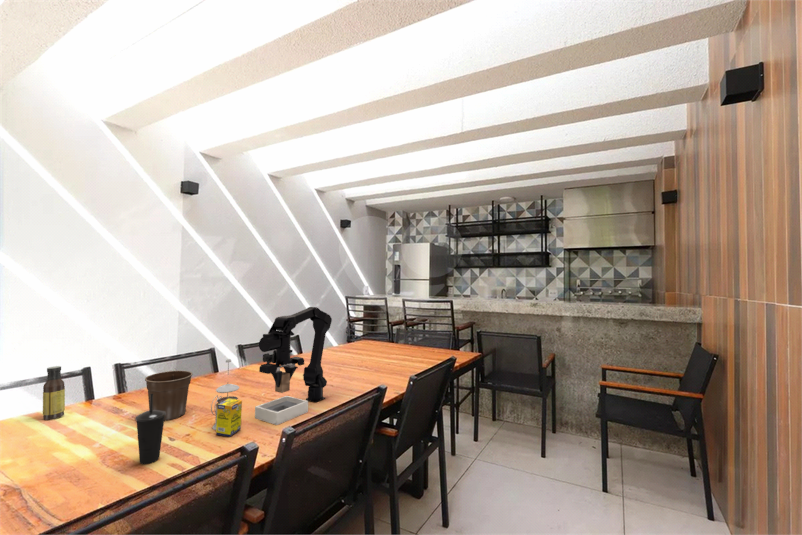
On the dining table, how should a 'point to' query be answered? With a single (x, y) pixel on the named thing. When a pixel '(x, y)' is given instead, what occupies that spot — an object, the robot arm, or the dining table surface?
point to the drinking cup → (150, 433)
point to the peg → (284, 383)
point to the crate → (284, 414)
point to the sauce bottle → (53, 394)
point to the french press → (224, 389)
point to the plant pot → (169, 392)
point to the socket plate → (281, 406)
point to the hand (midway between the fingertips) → (282, 385)
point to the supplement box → (228, 417)
